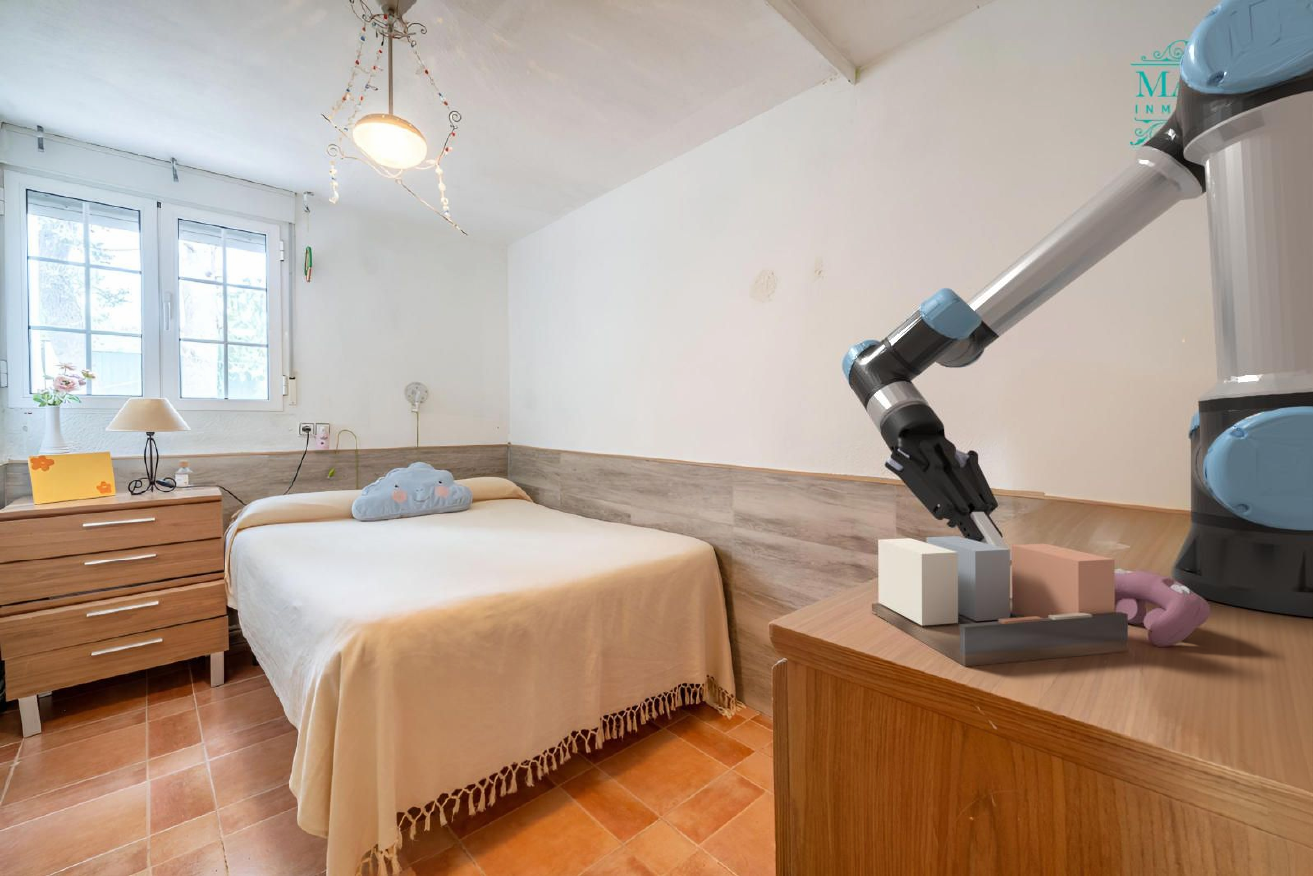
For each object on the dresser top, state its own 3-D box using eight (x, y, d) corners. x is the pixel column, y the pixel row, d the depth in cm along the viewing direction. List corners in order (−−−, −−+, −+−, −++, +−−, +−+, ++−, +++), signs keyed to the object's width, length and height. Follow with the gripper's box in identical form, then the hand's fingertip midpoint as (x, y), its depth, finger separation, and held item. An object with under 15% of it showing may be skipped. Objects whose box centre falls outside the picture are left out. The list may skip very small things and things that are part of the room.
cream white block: (878, 602, 56) (878, 539, 56) (910, 600, 57) (910, 538, 57) (921, 625, 49) (921, 554, 49) (957, 622, 50) (957, 552, 50)
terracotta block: (1012, 611, 53) (1012, 545, 53) (1044, 609, 54) (1044, 543, 54) (1078, 637, 46) (1078, 561, 46) (1114, 634, 47) (1114, 559, 47)
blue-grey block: (926, 599, 57) (926, 537, 57) (957, 597, 58) (957, 536, 58) (975, 621, 50) (975, 551, 50) (1010, 618, 51) (1009, 549, 51)
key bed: (871, 612, 57) (871, 580, 57) (1002, 603, 60) (1002, 573, 60) (965, 666, 43) (964, 624, 43) (1127, 651, 46) (1127, 612, 46)
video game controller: (1197, 666, 47) (1231, 598, 47) (1153, 644, 47) (1187, 576, 47) (1103, 626, 57) (1131, 570, 57) (1066, 608, 57) (1094, 552, 57)
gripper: (931, 439, 76) (1031, 580, 60) (853, 439, 74) (935, 586, 58) (958, 401, 71) (1076, 545, 55) (875, 400, 69) (972, 550, 53)
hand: (1004, 566), depth 56 cm, fingers closed
